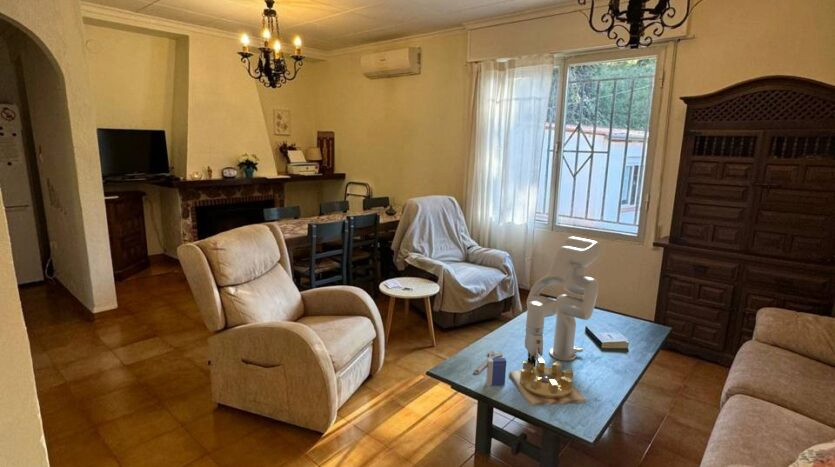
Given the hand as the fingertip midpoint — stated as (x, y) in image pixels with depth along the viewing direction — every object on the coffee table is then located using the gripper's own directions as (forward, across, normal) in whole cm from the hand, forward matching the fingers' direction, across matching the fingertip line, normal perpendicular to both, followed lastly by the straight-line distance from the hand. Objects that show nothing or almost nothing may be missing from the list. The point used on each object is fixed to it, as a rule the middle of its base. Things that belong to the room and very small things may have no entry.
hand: (531, 366), depth 199 cm
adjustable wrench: (+6, +14, +16) cm, 22 cm away
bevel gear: (+3, -10, -3) cm, 11 cm away
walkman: (+5, -5, +18) cm, 19 cm away
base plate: (+5, -10, -3) cm, 11 cm away
